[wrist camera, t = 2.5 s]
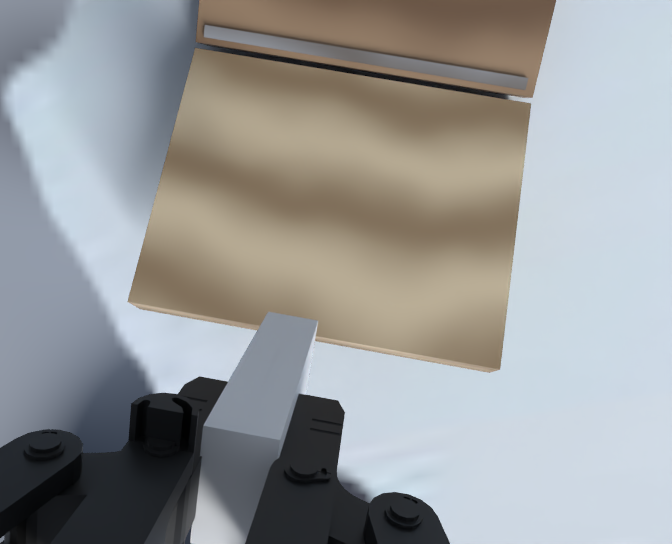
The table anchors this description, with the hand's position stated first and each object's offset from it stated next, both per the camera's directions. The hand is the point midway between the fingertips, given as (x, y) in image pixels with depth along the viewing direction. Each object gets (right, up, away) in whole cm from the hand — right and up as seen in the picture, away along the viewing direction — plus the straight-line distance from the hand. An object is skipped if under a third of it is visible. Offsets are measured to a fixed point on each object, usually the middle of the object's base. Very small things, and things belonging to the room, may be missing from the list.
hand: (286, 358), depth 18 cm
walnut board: (+4, +18, +15) cm, 24 cm away
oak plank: (+2, +6, +14) cm, 16 cm away
